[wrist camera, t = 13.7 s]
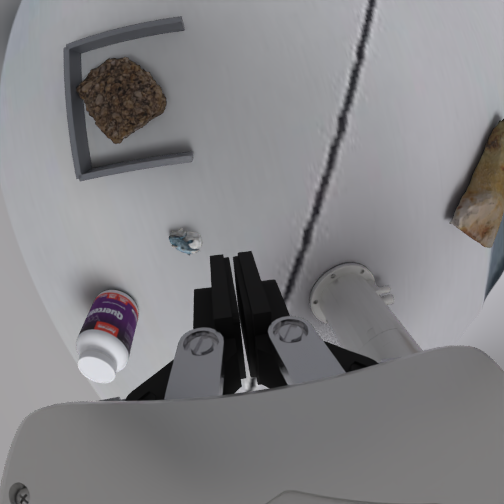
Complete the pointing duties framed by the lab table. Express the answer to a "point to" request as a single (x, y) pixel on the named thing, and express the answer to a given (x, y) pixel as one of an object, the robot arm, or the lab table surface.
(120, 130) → the concrete sample
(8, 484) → the robot arm
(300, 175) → the lab table surface
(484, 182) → the mineral
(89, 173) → the tray
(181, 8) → the lab table surface
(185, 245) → the sculpture
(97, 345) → the pill bottle
